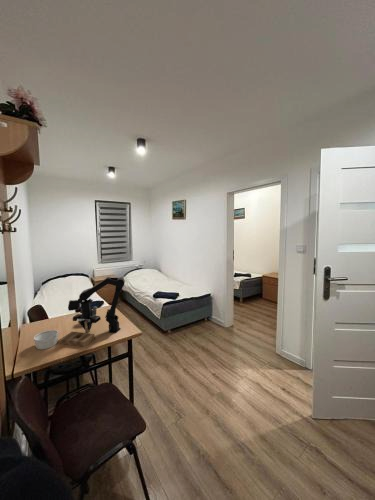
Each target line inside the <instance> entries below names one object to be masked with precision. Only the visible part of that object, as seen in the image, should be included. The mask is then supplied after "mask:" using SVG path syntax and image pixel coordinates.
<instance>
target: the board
mask: <svg viewBox="0 0 375 500" xmlns="http://www.w3.org/2000/svg"><path fill="white" fill-rule="evenodd" d="M59 340H60V344H62V345H63V344H64V345H71V346H78V347H84V348H85V347H86V346H87V345H89V343H91V342H92V341H93V340H95V333H91V332H89V333H85V332H81V331H80V332H79V331H70V332H69V333H67V334H65V336H63V337H62V338H60V339H59Z"/></svg>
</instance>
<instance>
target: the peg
mask: <svg viewBox="0 0 375 500" xmlns="http://www.w3.org/2000/svg"><path fill="white" fill-rule="evenodd" d="M87 322H89V320H87V321H85V330H84V331H85V332H84V333H91V329H90V330H89V329H88V326H87Z"/></svg>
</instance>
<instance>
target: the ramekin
mask: <svg viewBox="0 0 375 500" xmlns="http://www.w3.org/2000/svg"><path fill="white" fill-rule="evenodd" d="M58 340H59V331H58V330H56V329H49V330H45V331H44V330H43V331H42V332H39V333H37V334H35V335H34V337H33V342H34V345H35V348H36V349H38V350H47V349H48V350H49V349H50V348H52V347H54V346H56V345H57V344H58Z"/></svg>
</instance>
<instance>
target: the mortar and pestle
mask: <svg viewBox="0 0 375 500" xmlns="http://www.w3.org/2000/svg"><path fill="white" fill-rule="evenodd" d="M92 310H98V306H93V308H92ZM94 316H97V314H96V315H95V314H94V315H93V316H91V317H94ZM86 321H87V320H86Z"/></svg>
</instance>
